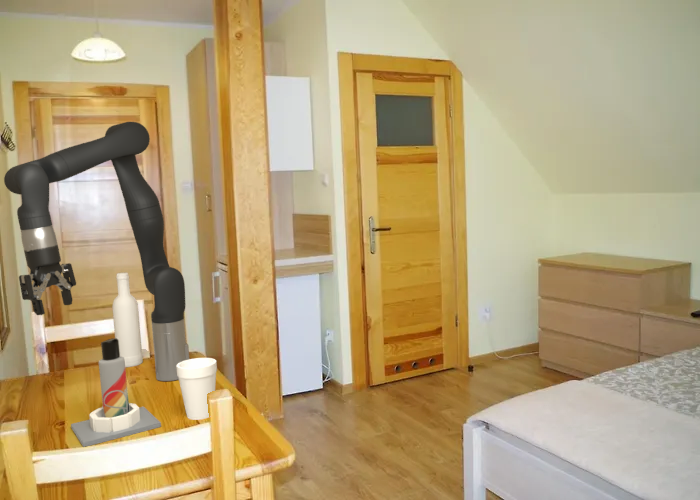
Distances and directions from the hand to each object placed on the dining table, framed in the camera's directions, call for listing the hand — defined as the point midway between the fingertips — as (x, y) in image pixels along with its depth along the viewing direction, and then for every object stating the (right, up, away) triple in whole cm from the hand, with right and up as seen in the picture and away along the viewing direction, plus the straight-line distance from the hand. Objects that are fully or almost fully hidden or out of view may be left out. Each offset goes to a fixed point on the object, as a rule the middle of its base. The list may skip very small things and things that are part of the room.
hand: (54, 309), depth 149 cm
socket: (+18, -27, -8) cm, 34 cm away
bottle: (+2, -23, +46) cm, 51 cm away
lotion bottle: (+18, -26, -7) cm, 33 cm away
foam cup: (+37, -26, -2) cm, 45 cm away
